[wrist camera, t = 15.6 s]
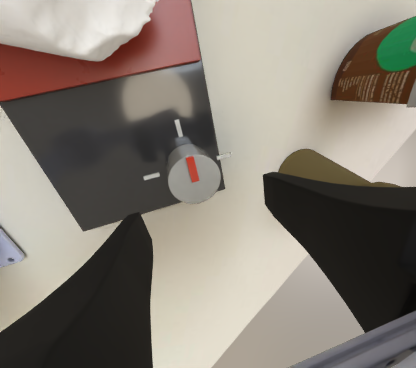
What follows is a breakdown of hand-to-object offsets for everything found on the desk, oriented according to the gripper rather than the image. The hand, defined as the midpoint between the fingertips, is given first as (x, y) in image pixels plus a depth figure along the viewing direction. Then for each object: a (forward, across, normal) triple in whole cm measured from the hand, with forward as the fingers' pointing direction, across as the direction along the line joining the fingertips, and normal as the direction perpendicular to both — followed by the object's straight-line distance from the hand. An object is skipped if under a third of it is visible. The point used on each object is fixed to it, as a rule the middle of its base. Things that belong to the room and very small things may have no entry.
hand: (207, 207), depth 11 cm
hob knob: (+7, 0, 0) cm, 7 cm away
